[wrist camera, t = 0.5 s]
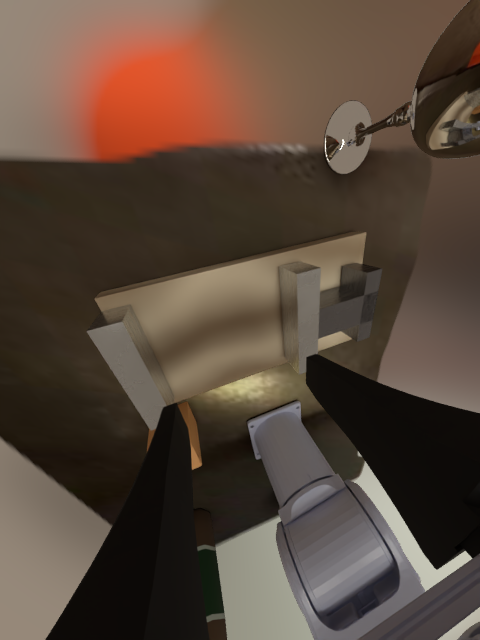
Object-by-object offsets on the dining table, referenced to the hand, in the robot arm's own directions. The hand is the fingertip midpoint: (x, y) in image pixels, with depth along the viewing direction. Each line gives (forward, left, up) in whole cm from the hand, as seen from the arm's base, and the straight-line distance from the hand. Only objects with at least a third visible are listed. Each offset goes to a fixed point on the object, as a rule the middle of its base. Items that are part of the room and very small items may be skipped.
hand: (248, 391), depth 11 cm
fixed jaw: (-1, +7, -8) cm, 11 cm away
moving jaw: (-1, -10, -8) cm, 13 cm away
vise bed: (-1, -3, -10) cm, 10 cm away
